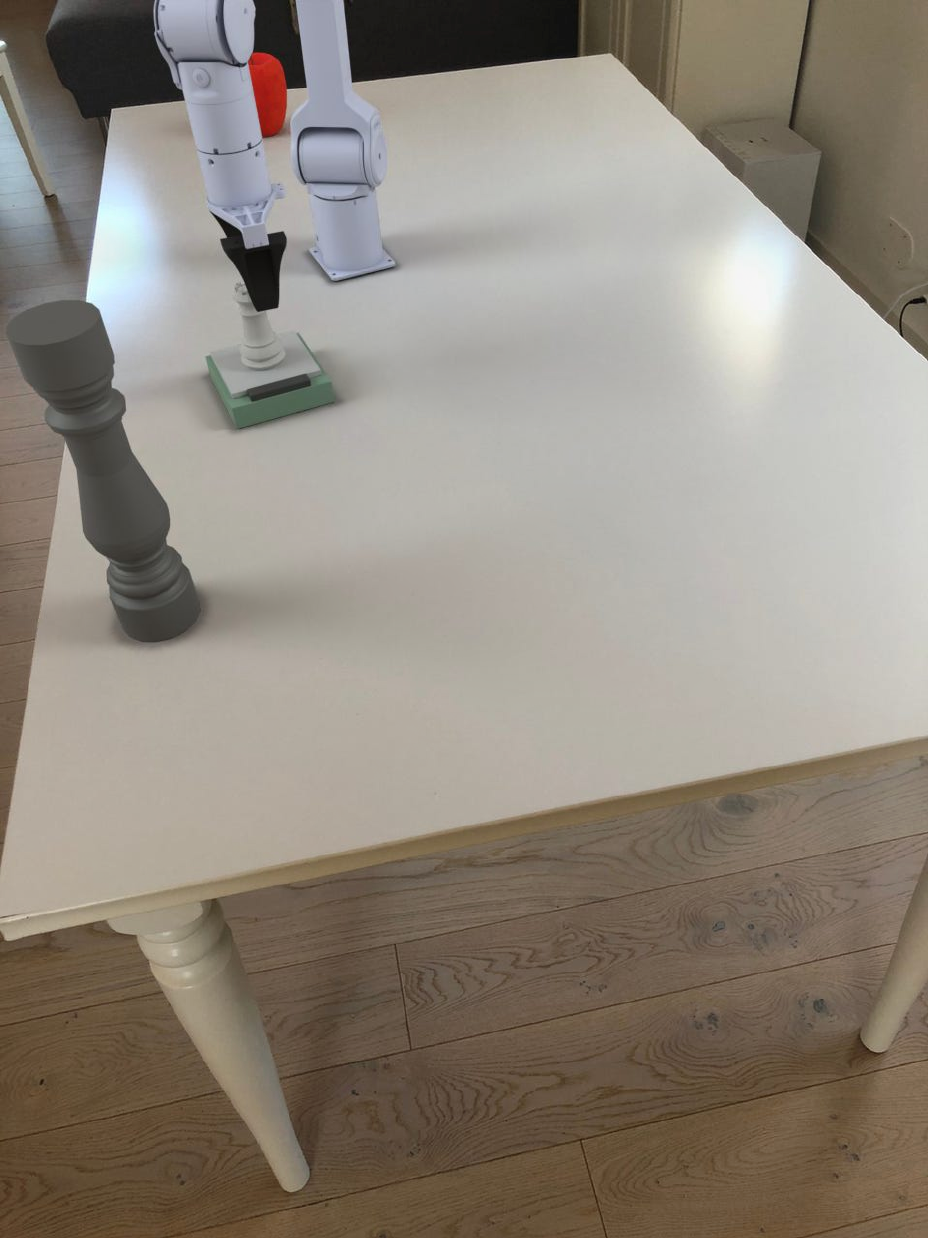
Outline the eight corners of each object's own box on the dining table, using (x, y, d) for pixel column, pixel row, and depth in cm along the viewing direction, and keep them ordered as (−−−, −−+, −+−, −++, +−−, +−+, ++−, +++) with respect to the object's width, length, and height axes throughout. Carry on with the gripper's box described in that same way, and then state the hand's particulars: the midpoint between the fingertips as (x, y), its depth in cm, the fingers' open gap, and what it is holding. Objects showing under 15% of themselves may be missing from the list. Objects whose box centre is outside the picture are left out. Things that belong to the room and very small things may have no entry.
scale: (210, 376, 105) (203, 349, 103) (302, 352, 107) (297, 325, 105) (237, 429, 98) (230, 401, 95) (335, 402, 100) (330, 374, 98)
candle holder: (127, 591, 82) (14, 302, 64) (204, 583, 82) (112, 293, 64) (115, 645, 77) (-11, 351, 60) (196, 637, 77) (94, 341, 60)
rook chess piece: (285, 369, 99) (269, 293, 94) (239, 373, 99) (221, 297, 94) (287, 346, 102) (272, 271, 97) (243, 350, 102) (226, 275, 97)
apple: (247, 122, 160) (232, 46, 152) (300, 121, 159) (288, 45, 151) (230, 142, 154) (213, 64, 146) (285, 142, 153) (272, 63, 145)
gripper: (290, 163, 83) (316, 316, 92) (260, 108, 93) (287, 251, 102) (204, 178, 81) (240, 331, 91) (183, 121, 91) (217, 265, 101)
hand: (260, 290), depth 97 cm, fingers open, 7 cm apart
